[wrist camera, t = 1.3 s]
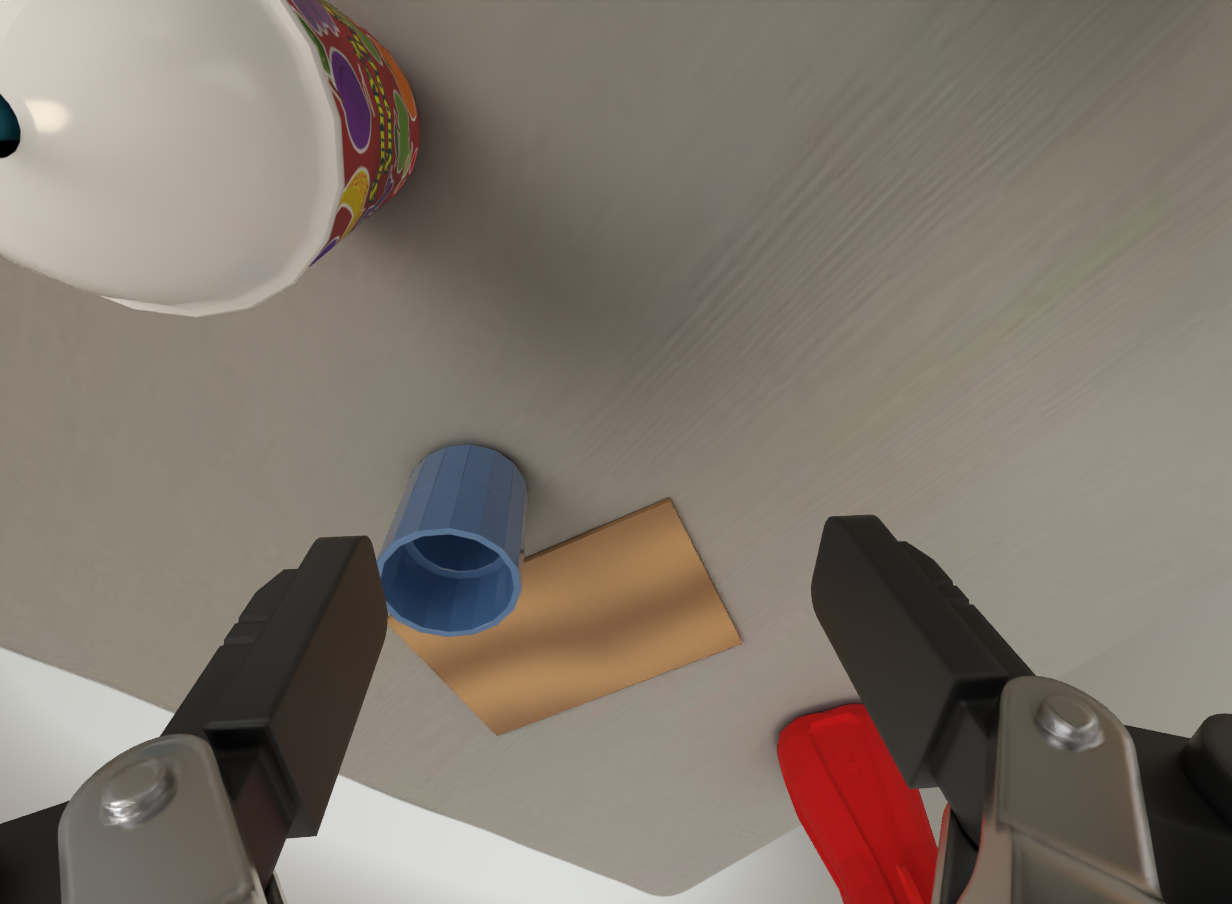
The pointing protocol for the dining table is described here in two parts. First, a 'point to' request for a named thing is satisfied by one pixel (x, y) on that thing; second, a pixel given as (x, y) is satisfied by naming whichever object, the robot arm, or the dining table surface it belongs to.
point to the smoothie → (192, 144)
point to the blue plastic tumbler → (456, 543)
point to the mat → (587, 623)
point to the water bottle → (858, 808)
